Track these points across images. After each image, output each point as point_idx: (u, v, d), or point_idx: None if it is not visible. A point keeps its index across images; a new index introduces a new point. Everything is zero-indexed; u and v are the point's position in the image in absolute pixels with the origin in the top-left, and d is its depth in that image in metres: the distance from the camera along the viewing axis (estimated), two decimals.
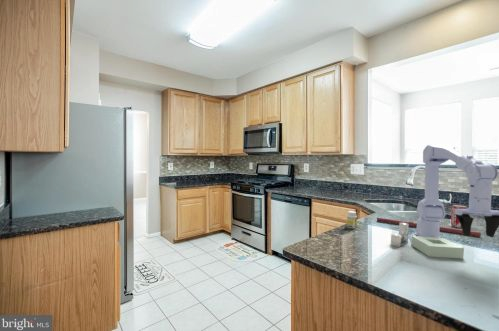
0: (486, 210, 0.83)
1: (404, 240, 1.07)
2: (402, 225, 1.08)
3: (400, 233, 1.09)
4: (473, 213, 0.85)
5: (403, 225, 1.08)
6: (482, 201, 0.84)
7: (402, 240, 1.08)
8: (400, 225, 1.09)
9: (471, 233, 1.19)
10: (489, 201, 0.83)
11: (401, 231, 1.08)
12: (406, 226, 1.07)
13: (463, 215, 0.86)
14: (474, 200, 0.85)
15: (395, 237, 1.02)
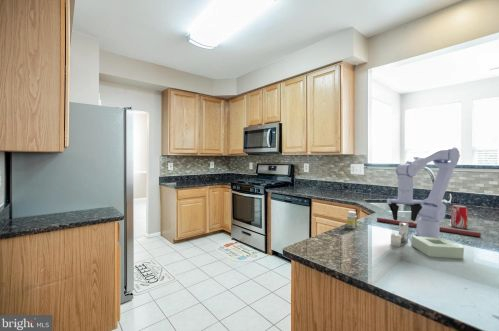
0: (408, 199, 1.06)
1: (404, 240, 1.07)
2: (402, 225, 1.08)
3: (400, 233, 1.09)
4: (399, 202, 1.08)
5: (403, 225, 1.08)
6: (405, 192, 1.06)
7: (402, 240, 1.08)
8: (400, 225, 1.09)
9: (471, 233, 1.18)
10: (410, 192, 1.06)
11: (401, 231, 1.08)
12: (406, 226, 1.07)
13: (392, 204, 1.08)
14: (400, 192, 1.08)
15: (395, 237, 1.02)
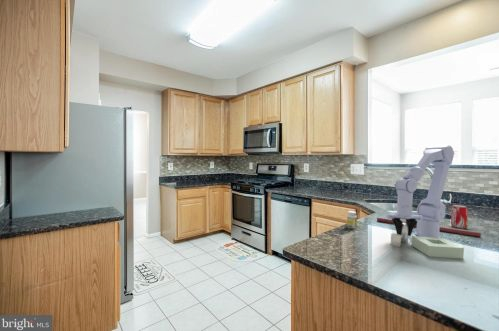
0: (407, 215, 1.06)
1: (404, 240, 1.07)
2: (402, 225, 1.08)
3: None
4: (399, 217, 1.08)
5: (403, 225, 1.08)
6: (405, 208, 1.06)
7: (402, 240, 1.08)
8: None
9: (471, 233, 1.18)
10: (410, 208, 1.06)
11: (401, 231, 1.08)
12: (406, 226, 1.07)
13: None
14: (399, 207, 1.08)
15: (395, 237, 1.02)
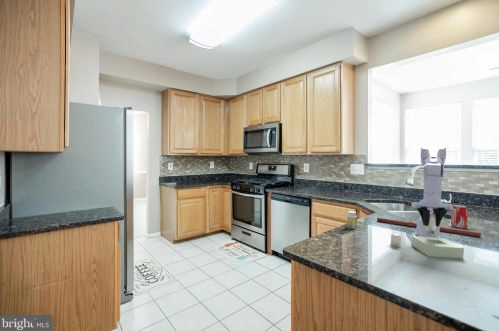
0: (436, 203, 0.96)
1: (432, 231, 0.98)
2: (430, 215, 0.98)
3: None
4: (426, 206, 0.98)
5: (431, 215, 0.98)
6: (433, 195, 0.96)
7: (430, 231, 0.98)
8: None
9: (471, 233, 1.18)
10: (439, 195, 0.96)
11: (429, 222, 0.98)
12: (434, 216, 0.97)
13: (417, 208, 0.99)
14: (427, 194, 0.98)
15: (395, 237, 1.02)
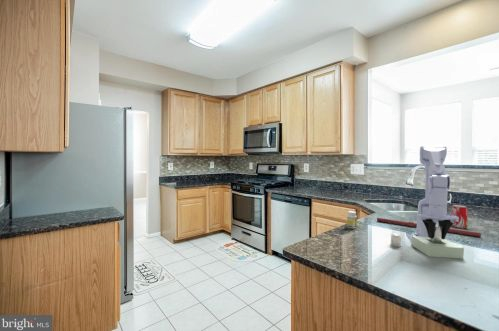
0: (442, 215, 0.94)
1: None
2: (435, 227, 0.96)
3: None
4: (431, 218, 0.96)
5: (437, 227, 0.96)
6: (439, 207, 0.94)
7: None
8: None
9: (471, 233, 1.18)
10: (445, 207, 0.94)
11: (434, 234, 0.96)
12: (440, 228, 0.96)
13: (423, 220, 0.97)
14: (432, 206, 0.96)
15: (395, 237, 1.02)
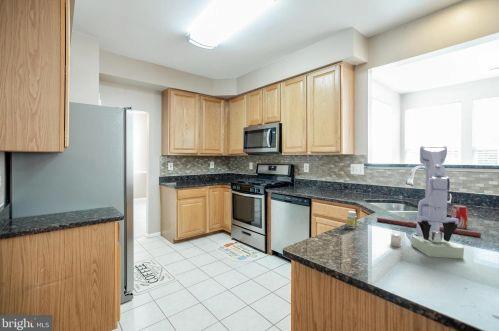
0: (442, 218, 0.94)
1: None
2: (435, 234, 0.96)
3: (432, 242, 0.97)
4: (431, 220, 0.96)
5: (436, 234, 0.96)
6: (438, 210, 0.94)
7: None
8: (432, 233, 0.97)
9: (471, 233, 1.18)
10: (444, 210, 0.94)
11: (434, 240, 0.96)
12: (440, 235, 0.96)
13: (423, 222, 0.97)
14: (432, 209, 0.96)
15: (395, 237, 1.02)
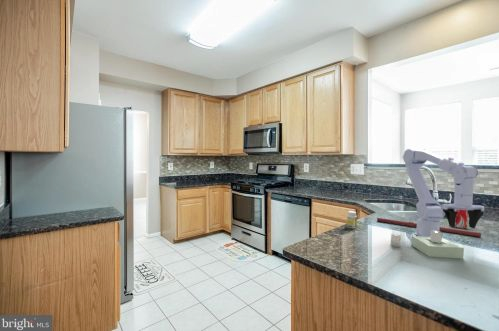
0: (468, 205, 0.97)
1: None
2: (435, 234, 0.96)
3: (432, 242, 0.97)
4: (457, 207, 0.99)
5: (436, 234, 0.96)
6: (465, 197, 0.97)
7: None
8: (432, 233, 0.97)
9: (471, 233, 1.18)
10: (471, 197, 0.97)
11: (434, 240, 0.96)
12: (440, 235, 0.96)
13: (449, 209, 0.99)
14: (458, 196, 0.98)
15: (395, 237, 1.02)
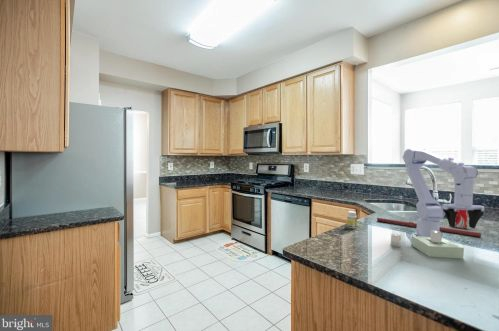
0: (468, 205, 0.97)
1: None
2: (435, 234, 0.96)
3: (432, 242, 0.97)
4: (457, 207, 0.99)
5: (436, 233, 0.96)
6: (465, 197, 0.97)
7: None
8: (432, 233, 0.97)
9: (471, 233, 1.18)
10: (471, 197, 0.97)
11: (434, 240, 0.96)
12: (440, 235, 0.96)
13: (449, 209, 0.99)
14: (458, 196, 0.98)
15: (395, 237, 1.02)
